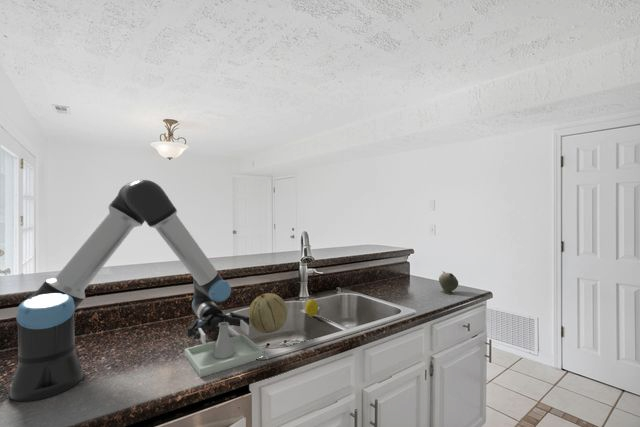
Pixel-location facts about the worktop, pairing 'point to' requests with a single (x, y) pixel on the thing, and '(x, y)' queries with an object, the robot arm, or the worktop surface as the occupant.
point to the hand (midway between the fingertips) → (226, 334)
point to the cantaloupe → (268, 313)
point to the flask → (223, 343)
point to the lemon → (311, 307)
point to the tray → (208, 364)
